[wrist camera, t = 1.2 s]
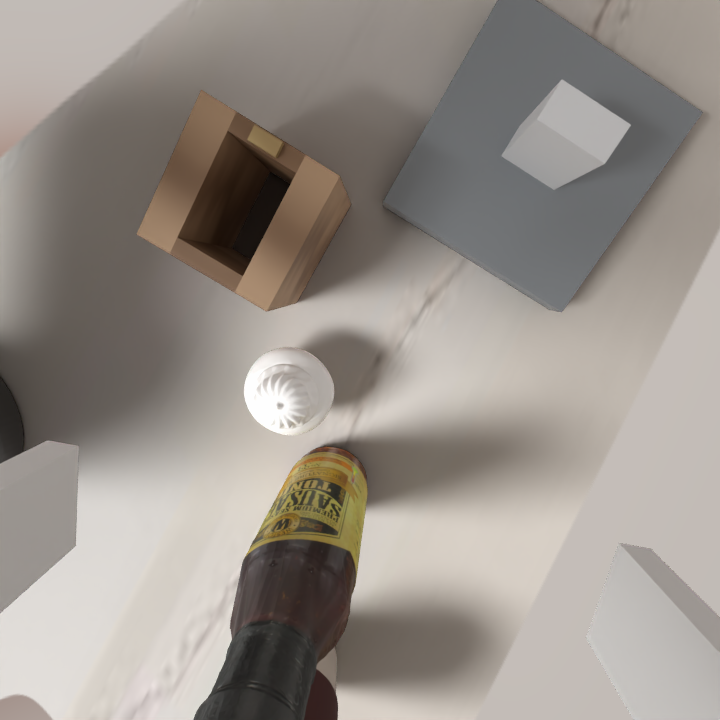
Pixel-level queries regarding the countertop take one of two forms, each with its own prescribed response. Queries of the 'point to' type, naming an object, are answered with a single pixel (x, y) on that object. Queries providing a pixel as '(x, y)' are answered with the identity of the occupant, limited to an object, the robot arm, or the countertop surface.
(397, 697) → the countertop surface
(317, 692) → the coffee cup
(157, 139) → the countertop surface
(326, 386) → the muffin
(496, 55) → the shaft stand
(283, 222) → the brown hollow block
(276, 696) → the sauce bottle
